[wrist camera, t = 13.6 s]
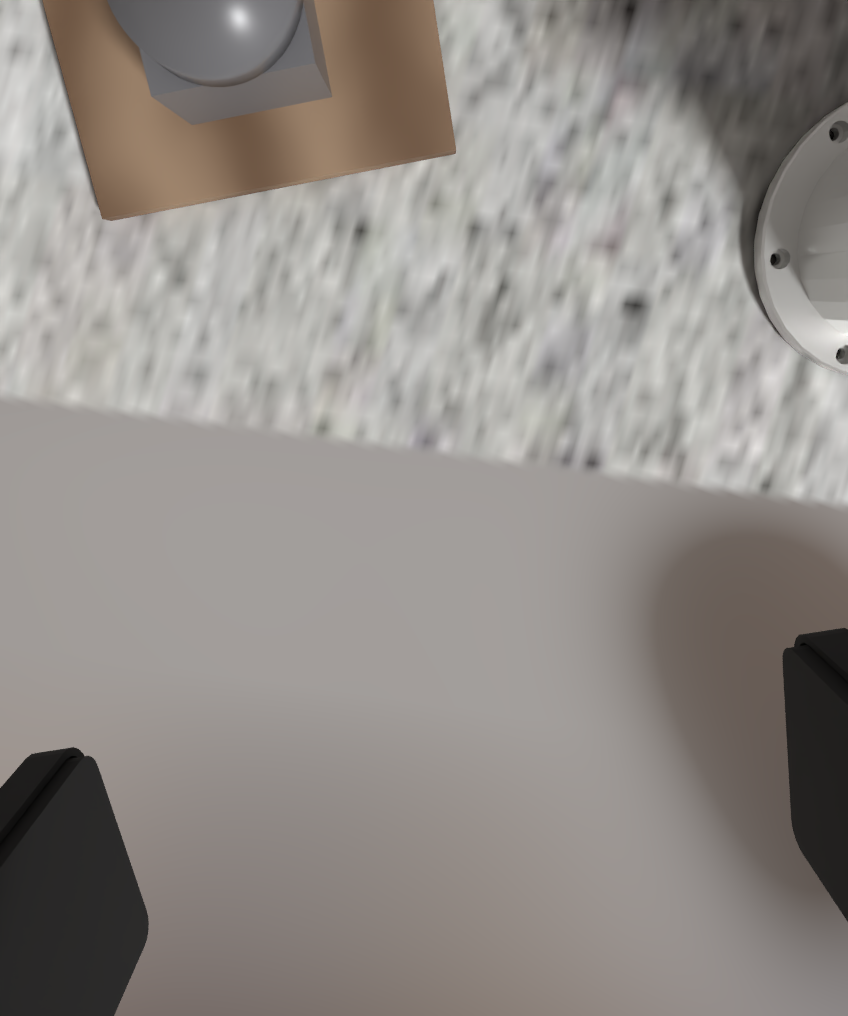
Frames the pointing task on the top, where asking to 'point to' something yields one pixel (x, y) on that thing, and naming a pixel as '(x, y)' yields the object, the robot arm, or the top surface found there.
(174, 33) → the knob
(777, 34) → the top surface
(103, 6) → the board
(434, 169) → the top surface
